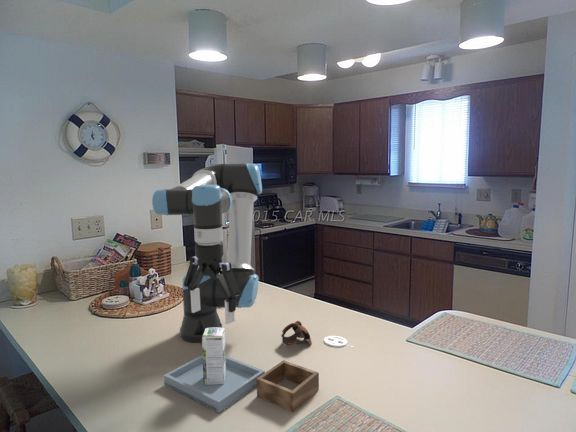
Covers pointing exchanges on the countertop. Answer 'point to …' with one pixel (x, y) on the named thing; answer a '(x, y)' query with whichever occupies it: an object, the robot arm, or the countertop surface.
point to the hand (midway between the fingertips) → (212, 316)
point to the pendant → (336, 341)
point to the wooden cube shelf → (282, 395)
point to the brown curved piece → (299, 333)
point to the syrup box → (214, 356)
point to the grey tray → (213, 396)
